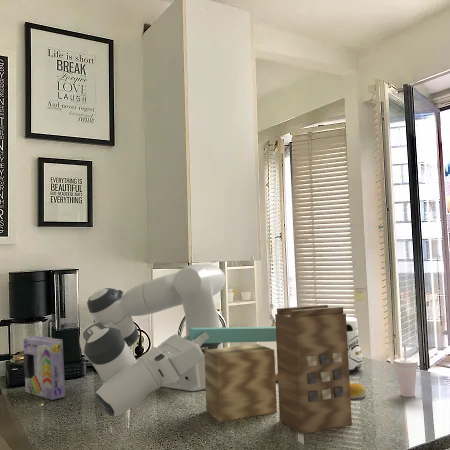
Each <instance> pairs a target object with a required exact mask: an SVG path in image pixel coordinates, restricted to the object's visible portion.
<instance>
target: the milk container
mask: <svg viewBox="0 0 450 450" xmlns="http://www.w3.org/2000/svg"><path fill="white" fill-rule="evenodd" d="M346 324H347V343H348V361H349V373H351V372H352V373H353V372H355V371H358V370H359V369H360V368H361V367H362V365H363V352H362V349H361V346H360V341H359V339H360V338H359V327H358V326H359V325H358V319H357V318H356V317H352V316H346Z"/></svg>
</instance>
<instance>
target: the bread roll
mask: <svg viewBox="0 0 450 450" xmlns="http://www.w3.org/2000/svg"><path fill="white" fill-rule="evenodd" d="M366 396H367V389H366V386H364V385H362V384H360V383H359V384H358V383H356V382H354V383H353V382H351V381H350V398H351V400H357V398H359V399H364V398H365V397H366ZM363 397H364V398H363Z"/></svg>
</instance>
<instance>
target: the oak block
mask: <svg viewBox="0 0 450 450" xmlns="http://www.w3.org/2000/svg"><path fill="white" fill-rule="evenodd" d="M204 352H205V384H206V389H205V411H206V412H207V413H208V414H209V415H211V417H214V419H216V420H217V421H218V422H219V423H221V422H228V421H233V419H234V420H238V419H239V418H240V419H245V418H244V417H246V418H250V417H249V416H251V417H256V415H257V416H261V415H262V414H263V415H267V414H273V413H278V406H277V384H276V383H277V381H276V376H275V375H276V358H275V357H276V356H275V349H273V348H271V347H268V346H264V345H262V344H257V343H256V344H248V345H239V346H229V347H222V348H218V349H209V350H204ZM263 415H262V416H263ZM240 419H239V420H240ZM227 420H228V421H227Z"/></svg>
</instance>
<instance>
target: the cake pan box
mask: <svg viewBox="0 0 450 450" xmlns="http://www.w3.org/2000/svg"><path fill="white" fill-rule="evenodd" d="M63 341H64V340H63V339H62V338H61V339H60V338H54V337H50V336H49V337H48V336H40V335H32V336H29V337H25V338H23V371H24V376H25V377H24V382H25V384H24V385H25V386H24V387H25V390H24V391H25V392H26V393H28V394H32V395H34V396H38V397H40V398H45V399H48V400H53V401H55V400H59V399H63V398H66V383H65V365H64V364H65V363H64V362H65V361H64V345H63V344H64V343H63Z"/></svg>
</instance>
